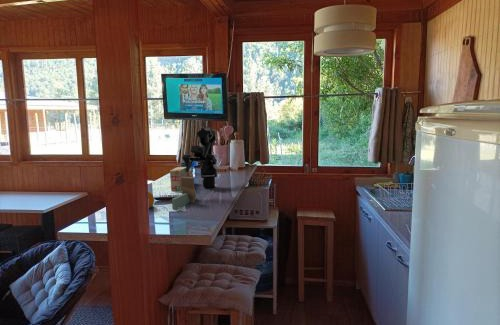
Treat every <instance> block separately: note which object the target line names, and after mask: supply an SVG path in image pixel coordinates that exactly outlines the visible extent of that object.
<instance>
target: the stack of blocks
mask: <svg viewBox="0 0 500 325" xmlns="http://www.w3.org/2000/svg"><path fill="white" fill-rule="evenodd" d="M183 177H191V178H194V174H193V169H192V168H190V170H189V172H188V173H187V172H186V166H177V167H175V168H172V169H171V170H169V179H170V191H172V192H182V181H181V178H183Z"/></svg>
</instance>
